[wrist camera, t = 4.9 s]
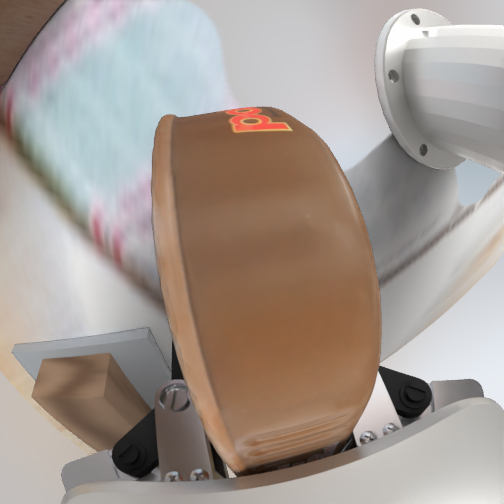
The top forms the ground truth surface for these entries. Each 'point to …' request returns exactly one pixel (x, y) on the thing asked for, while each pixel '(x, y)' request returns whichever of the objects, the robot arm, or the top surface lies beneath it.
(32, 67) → the top surface
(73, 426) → the base block
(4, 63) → the wooden block
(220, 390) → the tin
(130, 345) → the plate
